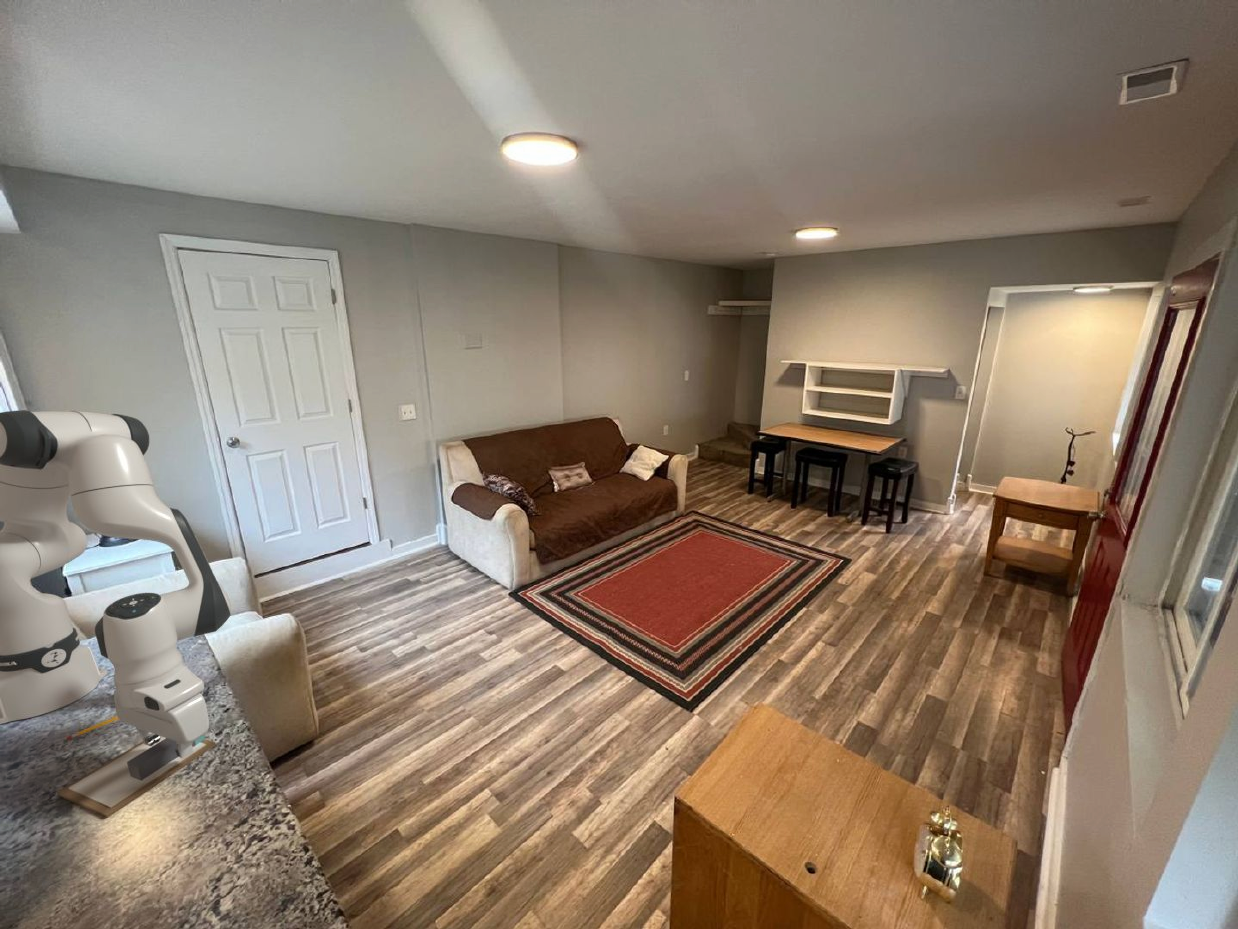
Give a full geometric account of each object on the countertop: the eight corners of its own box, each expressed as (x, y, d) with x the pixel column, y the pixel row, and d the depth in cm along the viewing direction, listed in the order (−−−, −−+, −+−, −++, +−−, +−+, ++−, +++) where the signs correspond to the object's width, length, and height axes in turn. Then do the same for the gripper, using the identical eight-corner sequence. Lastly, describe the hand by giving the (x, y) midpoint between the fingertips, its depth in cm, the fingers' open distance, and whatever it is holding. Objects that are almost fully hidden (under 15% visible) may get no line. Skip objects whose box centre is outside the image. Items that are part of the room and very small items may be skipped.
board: (57, 795, 82) (56, 791, 82) (169, 729, 97) (168, 725, 97) (106, 818, 77) (105, 814, 77) (215, 745, 92) (214, 741, 92)
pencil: (67, 739, 95) (66, 736, 95) (192, 687, 110) (191, 685, 110) (67, 741, 94) (66, 738, 94) (193, 689, 109) (192, 686, 109)
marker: (130, 776, 84) (126, 762, 84) (195, 735, 94) (192, 722, 93) (141, 780, 84) (137, 766, 83) (205, 739, 93) (202, 725, 92)
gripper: (95, 682, 86) (112, 748, 89) (167, 706, 80) (184, 776, 82) (138, 662, 92) (154, 724, 95) (210, 683, 85) (224, 749, 88)
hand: (168, 749), depth 88 cm, fingers open, 8 cm apart
